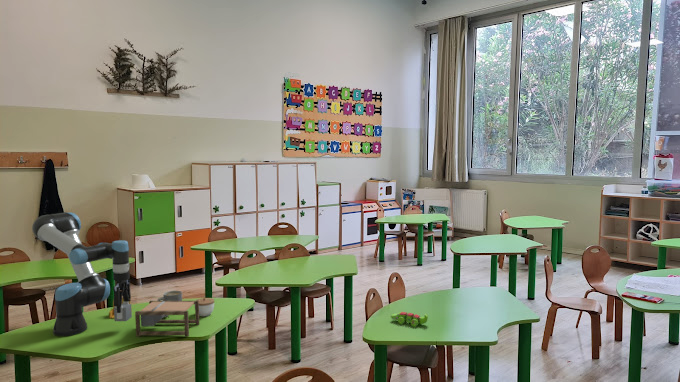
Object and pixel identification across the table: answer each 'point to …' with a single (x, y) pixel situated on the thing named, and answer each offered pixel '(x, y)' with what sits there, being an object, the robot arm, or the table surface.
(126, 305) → the slate block
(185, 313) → the stand
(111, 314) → the yellow toy armchair
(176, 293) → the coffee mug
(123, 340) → the table surface
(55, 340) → the table surface
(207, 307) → the lidded jar
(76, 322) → the robot arm
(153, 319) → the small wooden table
